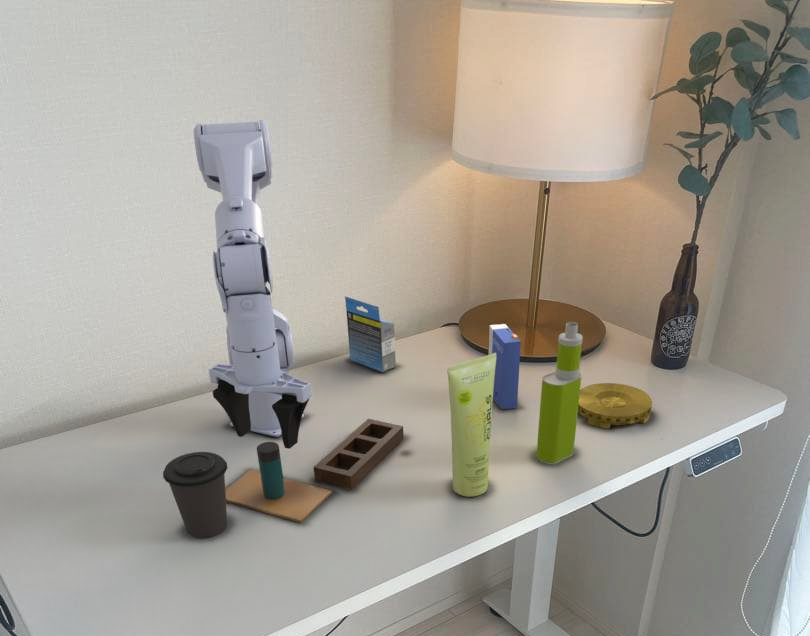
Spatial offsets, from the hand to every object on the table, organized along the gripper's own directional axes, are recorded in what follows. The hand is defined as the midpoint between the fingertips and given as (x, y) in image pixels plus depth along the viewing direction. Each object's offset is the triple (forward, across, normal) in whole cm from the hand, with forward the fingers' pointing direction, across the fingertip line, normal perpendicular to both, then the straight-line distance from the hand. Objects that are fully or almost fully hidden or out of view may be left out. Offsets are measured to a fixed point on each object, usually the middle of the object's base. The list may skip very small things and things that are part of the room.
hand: (267, 439), depth 108 cm
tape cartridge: (+9, -9, +45) cm, 47 cm away
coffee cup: (+9, -4, -10) cm, 14 cm away
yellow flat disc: (+9, +36, +44) cm, 57 cm away
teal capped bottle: (+8, 0, 0) cm, 9 cm away
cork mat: (+9, 0, 0) cm, 9 cm away
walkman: (+9, +18, +41) cm, 45 cm away
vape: (+9, +32, +27) cm, 43 cm away
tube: (+9, +24, +13) cm, 29 cm away
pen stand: (+9, +6, +14) cm, 17 cm away
